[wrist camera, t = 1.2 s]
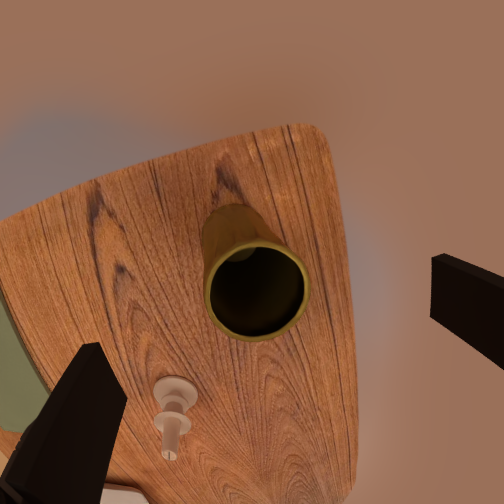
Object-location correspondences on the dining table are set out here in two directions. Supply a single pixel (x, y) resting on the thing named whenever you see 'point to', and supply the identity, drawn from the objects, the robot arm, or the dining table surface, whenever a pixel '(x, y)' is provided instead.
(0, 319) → the mat
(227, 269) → the fluted gold cylinder
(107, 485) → the plate
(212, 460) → the dining table surface
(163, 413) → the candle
